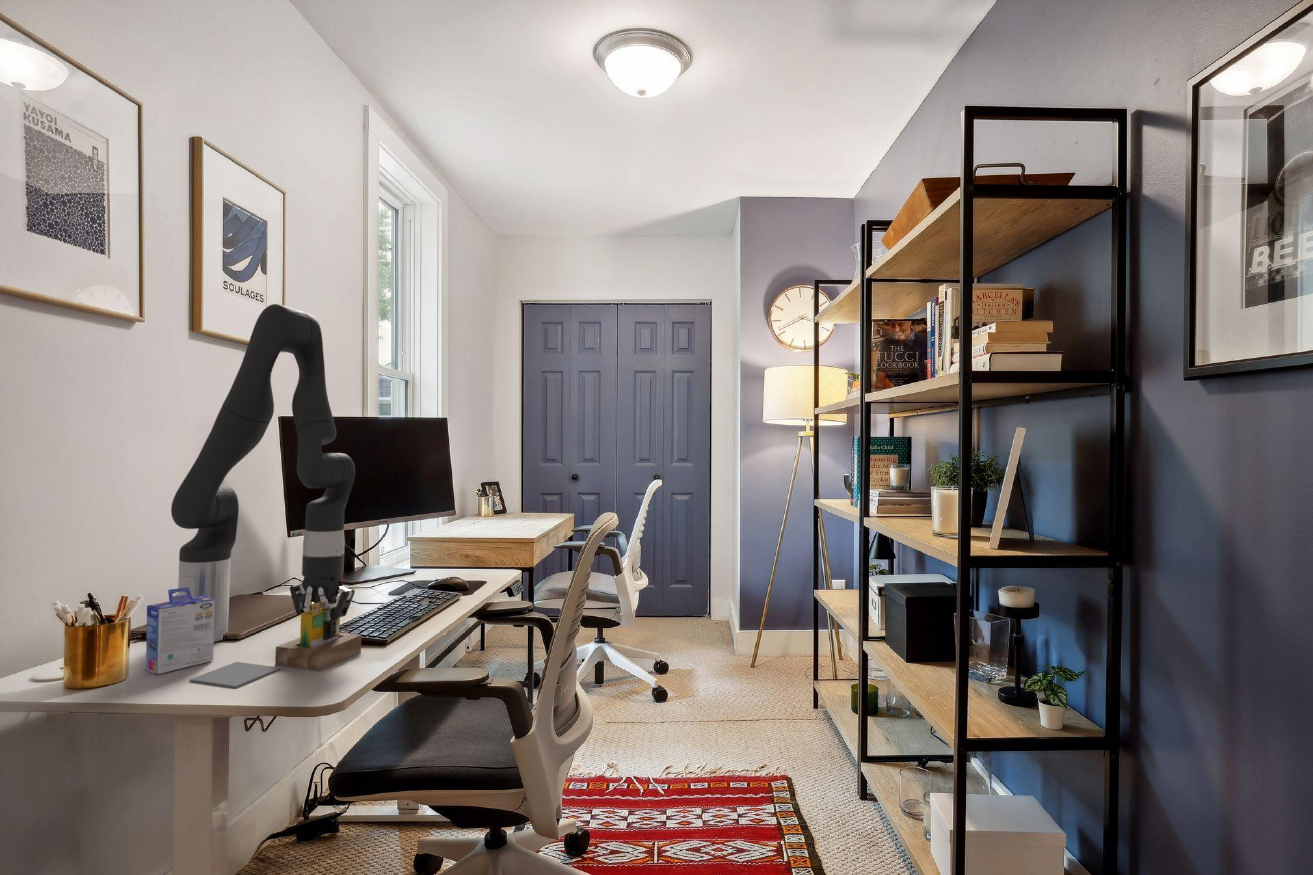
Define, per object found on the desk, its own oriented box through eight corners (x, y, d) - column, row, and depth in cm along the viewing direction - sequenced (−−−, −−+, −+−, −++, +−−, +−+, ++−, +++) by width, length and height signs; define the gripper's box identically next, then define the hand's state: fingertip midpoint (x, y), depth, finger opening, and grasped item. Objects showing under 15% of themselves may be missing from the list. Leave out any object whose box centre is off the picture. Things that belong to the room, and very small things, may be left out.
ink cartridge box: (200, 655, 133) (203, 583, 133) (215, 661, 130) (218, 587, 130) (142, 669, 124) (145, 591, 124) (156, 675, 122) (160, 596, 122)
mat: (189, 681, 119) (189, 679, 119) (236, 663, 129) (236, 661, 129) (236, 688, 117) (236, 685, 117) (280, 669, 127) (280, 667, 127)
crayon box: (328, 651, 138) (330, 595, 138) (339, 653, 137) (341, 597, 137) (298, 662, 131) (300, 603, 131) (309, 664, 130) (312, 605, 130)
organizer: (275, 664, 129) (275, 646, 129) (319, 646, 141) (320, 629, 141) (319, 670, 127) (320, 652, 127) (360, 651, 139) (361, 634, 139)
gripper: (279, 552, 132) (275, 639, 132) (341, 557, 129) (337, 646, 129) (307, 546, 139) (304, 628, 139) (366, 551, 136) (363, 635, 136)
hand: (320, 636), depth 134 cm, fingers open, 3 cm apart
